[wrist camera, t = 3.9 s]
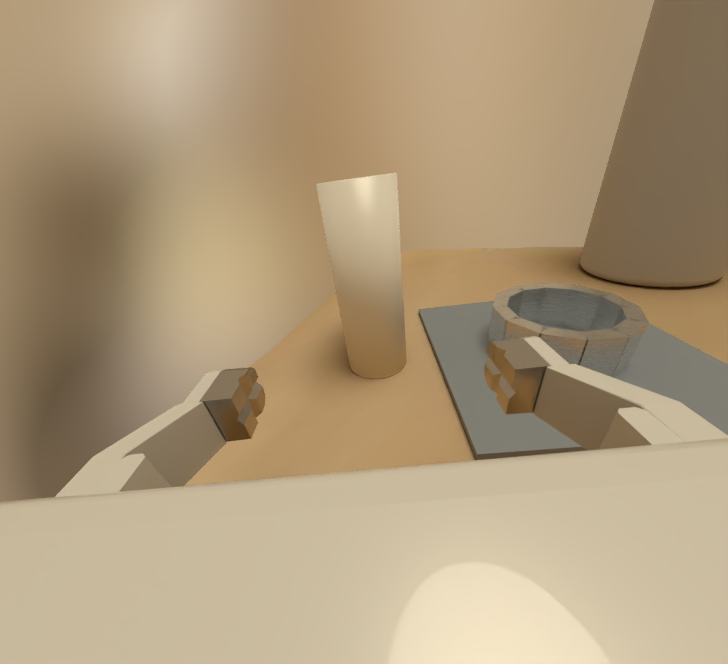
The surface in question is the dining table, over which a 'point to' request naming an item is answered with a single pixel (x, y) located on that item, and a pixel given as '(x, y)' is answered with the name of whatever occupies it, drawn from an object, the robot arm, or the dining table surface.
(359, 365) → the cream peg
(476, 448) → the slate plate
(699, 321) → the dining table surface
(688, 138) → the cylinder vase
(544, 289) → the collar
